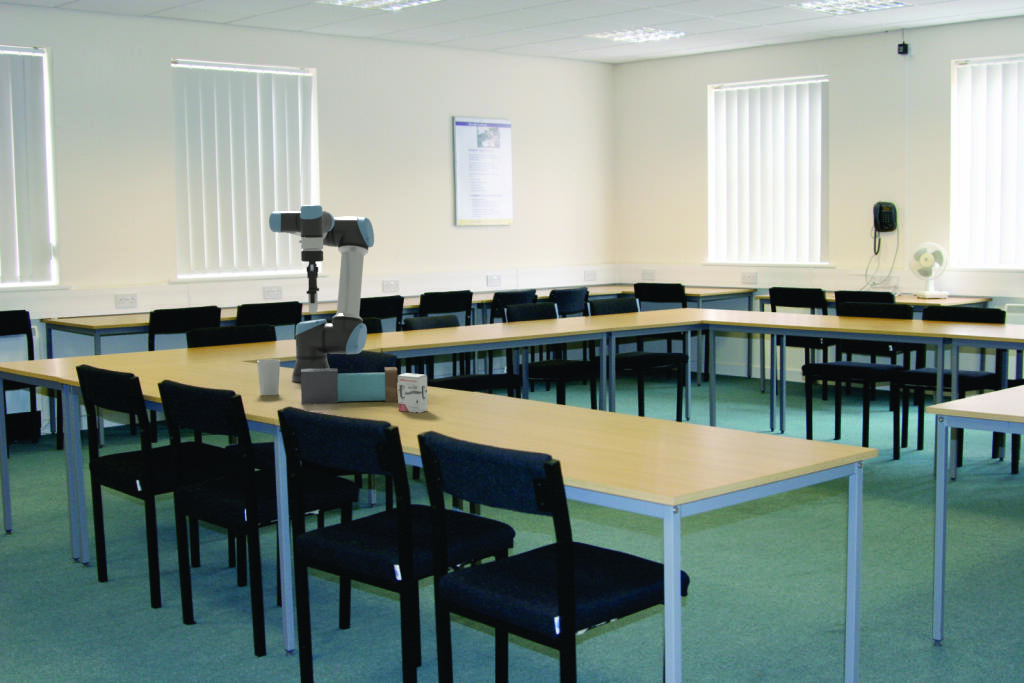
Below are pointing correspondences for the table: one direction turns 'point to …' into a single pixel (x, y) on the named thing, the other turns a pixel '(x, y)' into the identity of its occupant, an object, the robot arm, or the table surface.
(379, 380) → the teal rectangular box
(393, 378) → the socket
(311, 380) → the dark gray box
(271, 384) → the cup
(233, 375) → the table surface
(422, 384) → the ink box
